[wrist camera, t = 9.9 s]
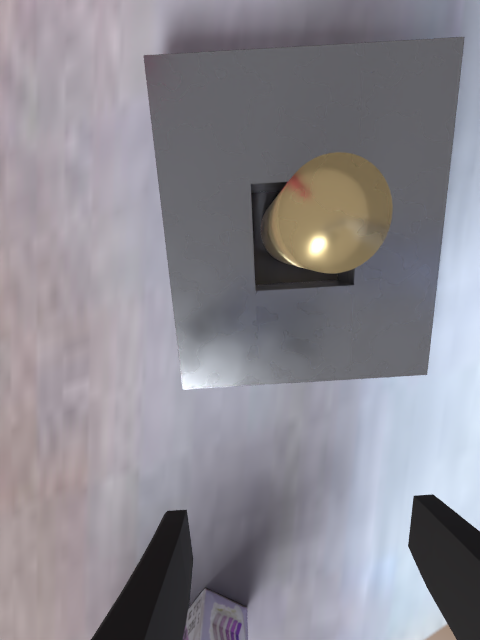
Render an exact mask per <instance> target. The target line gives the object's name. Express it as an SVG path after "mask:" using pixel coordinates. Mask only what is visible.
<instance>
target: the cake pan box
mask: <svg viewBox="0 0 480 640" xmlns="http://www.w3.org/2000/svg"><path fill="white" fill-rule="evenodd" d="M183 640H248V623H247V607H245V606H243V605H241V604H239V603H237V602H234V601H232V600H230V599H228V598H226V597H224V596H222V595H220V594H218V593H215V592H213V591H211V590H209V589H207V588H205V589H204V590H203V591H202V592H201V594H200V595H199V596H198V598H197V599H196V600H195V601H194V603H193V604H192V605H191V607H190V608H189V609H188V613H187V619H186V625H185V630H184V636H183Z"/></svg>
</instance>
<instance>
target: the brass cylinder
mask: <svg viewBox="0 0 480 640" xmlns="http://www.w3.org/2000/svg"><path fill="white" fill-rule="evenodd" d="M392 212H393V204H392V196H391V192H390V189H389V186H388V184H387V182H386V180H385V178H384V176H383V175H382V173H381V172H380V171H379V170H378V169H377V168H376V167H375V166H374V165H373V164H372V163H371V162H369V161H368V160H366V159H364V158H363V157H361V156H358V155H355V154H351V153H346V152H335V153H328V154H324V155H321V156H318V157H316V158H314V159H312V160H310V161H309V162H307V163H306V164H305V165H303V166H302V167H301V168H300V169H299V170H298V171H297V172H296V173H295V174H294V175H293V176H292V178H291V179H290V180H289V181H288V183H287V184H286V185H285V187H284V188H283V189H282V190H281V192H280V193H279V194H278V195H277V197H276V198H275V199H274V201H273V202H272V203H271V204H270V206H269V207H268V208H267V210H266V212H265V213H264V216H263V218H262V222H261V238H262V242H263V244H264V246H265V248H266V250H267V251H268V253H269V254H270V255H271V256H272V257H274V258H275V259H276V260H278V261H280V262H282V263H286V264H290V265H293V266H297V267H301V268H305V269H309V270H313V271H317V272H321V273H341V272H345V271H349V270H352V269H354V268H356V267H358V266H360V265H362V264H363V263H365V262H366V261H367V260H369V259H370V258H371V257H372V256H373V255H374V254H375V253H376V252H377V250H378V249H379V248H380V246H381V245H382V243H383V242H384V240H385V238H386V236H387V234H388V231H389V228H390V224H391V220H392Z"/></svg>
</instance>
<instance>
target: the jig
mask: <svg viewBox="0 0 480 640" xmlns="http://www.w3.org/2000/svg"><path fill="white" fill-rule="evenodd" d="M463 45H464V37H454V38H437V39H419V40H402V41H385V42H367V43H350V44H333V45H315V46H298V47H281V48H263V49H246V50H229V51H211V52H194V53H177V54H159V55H144V63H145V71H146V80H147V88H148V97H149V106H150V114H151V123H152V131H153V140H154V148H155V157H156V165H157V174H158V182H159V191H160V199H161V208H162V217H163V225H164V234H165V242H166V251H167V259H168V268H169V276H170V285H171V293H172V302H173V311H174V319H175V328H176V336H177V345H178V353H179V362H180V370H181V379H182V387H183V389H199V388H216V387H232V386H249V385H265V384H282V383H298V382H315V381H331V380H348V379H364V378H381V377H397V376H414V375H427V370H428V361H429V352H430V343H431V334H432V325H433V316H434V307H435V298H436V289H437V280H438V271H439V262H440V253H441V244H442V235H443V226H444V217H445V208H446V199H447V190H448V181H449V172H450V163H451V154H452V145H453V136H454V127H455V118H456V109H457V100H458V90H459V81H460V72H461V63H462V54H463ZM335 152H346V153H351V154H355V155H358V156H361V157H363V158H364V159H366V160H368V161H369V162H371V163H372V164H373V165H374V166H375V167H376V168H377V169H378V170H379V171H380V172H381V173H382V175H383V176H384V178H385V180H386V182H387V184H388V186H389V189H390V192H391V196H392V204H393V212H392V220H391V224H390V228H389V231H388V234H387V236H386V238H385V240H384V242H383V243H382V245H381V246H380V248H379V249H378V250H377V252H376V253H375V254H374V255H373V256H372V257H371V258H370V259H369V260H367V261H366V262H365V263H363V264H362V265H360V266H358V267H356V268H354V269H352V270H349V271H345V272H341V273H338V280H327V281H310V282H294V283H277V284H260V285H255V270H254V248H253V225H252V203H251V193H259V192H276V191H281V190H282V189H283V188H284V187H285V185H286V184H287V183H288V181H289V180H290V179H291V178H292V176H293V175H294V174H295V173H296V172H297V171H298V170H299V169H300V168H301V167H302V166H303V165H305V164H306V163H307V162H309V161H310V160H312V159H314V158H316V157H318V156H321V155H324V154H328V153H335Z"/></svg>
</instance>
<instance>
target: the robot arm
mask: <svg viewBox="0 0 480 640" xmlns="http://www.w3.org/2000/svg"><path fill="white" fill-rule="evenodd" d="M408 547H409V549H410V551H411V553H412V556H413V558H414V560H415V562H416V565H417V567H418V569H419V571H420V573H421V575H422V578H423V580H424V582H425V584H426V586H427V588H428V590H429V592H430V593H431V595H432V597H433V599H434V601H435V602H436V604H437V606H438V608H439V609H440V611H441V613H442V615H443V616H444V618H445V620H446V622H447V623H448V625H449V627H450V629H451V630H452V632H453V634H454V636H455V637H456V639H457V640H480V531H478V530H477V529H476V528H475V527H473V526H472V525H471V524H470V523H468V522H467V521H466V520H465V519H463V518H462V517H461V516H460V515H458V514H457V513H456V512H455V511H453V510H452V509H451V508H450V507H448V506H447V505H446V504H444V503H443V502H442V501H441V500H439V499H438V498H437V497H435V496H434V495H419V496H414V499H413V508H412V517H411V526H410V535H409V544H408ZM192 567H193V555H192V547H191V539H190V531H189V523H188V516H187V510H176V511H167V512H166V513H165V514H164V516H163V518H162V520H161V522H160V524H159V526H158V528H157V530H156V532H155V534H154V536H153V538H152V540H151V542H150V543H149V545H148V547H147V549H146V551H145V553H144V554H143V556H142V558H141V560H140V562H139V563H138V565H137V567H136V568H135V570H134V572H133V573H132V575H131V577H130V579H129V580H128V582H127V584H126V585H125V587H124V589H123V590H122V592H121V594H120V595H119V597H118V599H117V600H116V602H115V603H114V605H113V606H112V608H111V609H110V611H109V613H108V614H107V616H106V617H105V619H104V620H103V622H102V624H101V625H100V627H99V628H98V630H97V631H96V633H95V634H94V636H93V637H92V639H91V640H183V636H184V630H185V625H186V619H187V613H188V607H189V600H190V589H191V578H192Z"/></svg>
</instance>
